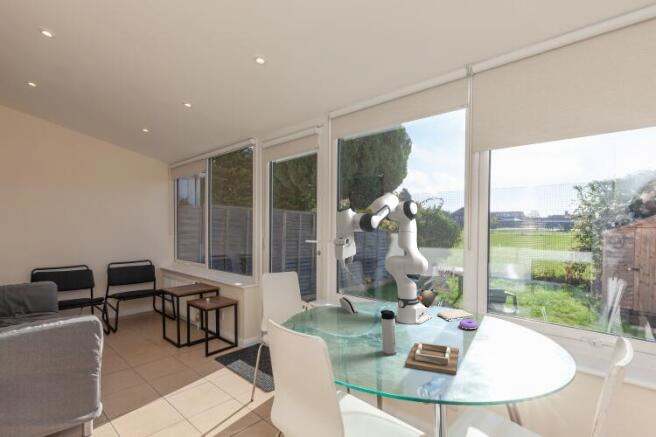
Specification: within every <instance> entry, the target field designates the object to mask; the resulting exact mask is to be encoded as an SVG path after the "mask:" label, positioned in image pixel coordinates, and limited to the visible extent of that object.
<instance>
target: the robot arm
mask: <svg viewBox="0 0 656 437" xmlns="http://www.w3.org/2000/svg"><path fill="white" fill-rule="evenodd" d="M370 209H371V211H372V212H367V213H366V212H365V213H364V212H363V213H357V212H355V211H353V210H352V208H351V207H342V208H340V209H337V211H336V214H335V227H336V237H335V239H333V241H332V242H333V245H334V257H335V259H336V260H337V261H339V263H340V266H341V269H346V263H345V262H346V261H345V259H348V261H347V264H348V265H349V266H350V265H353V259H354V256H355V255H356V254H357V247H356V242H355V232H359V233H360V232H361V233H363V232H364V233H373V232H375V231H376V230H377V229H378V227H379V225H380V224H381V223H382V222H383V221H384V220H386V221H387V222H397V221H398V222H399V224H398V231H397V232H398V233H397V246H398V248H400V249H401V250H403V251H405V252H406V255H396V254H395V255H391V256H387V258H386V259H385V262H384V268H385V271H387V273H389V274H390V275H391V276H392V277H393V279H394V280H395V282H396V287H397V310H396V311H397V312H396V315H395V318H396V319H395V321H397V322H399V323H400V324H408V325H412V324H413V325H421V323H422V322H424V321H425V322H427V321H428V319H429V320H431V319H432V318H433V316H432V315H431V314H429V313H428V307H425V306H424V304H423V303H422V302H421V301H420V300H422V297H420V296H417V295H418V292H417V284H416V282H415V281H413V280H412V279H410V278H409V277H408V276H407V275H423V274H425V273H427V271H428V269H429V262H428V260H427V259H426V257H424V256H423V255H422V253H421V252H420V251H419V249H418V245H417V239H418V238H417V234H418V232H417V231H418V230H417V229H418V228H417V221H416V218H417V214H418V211H419V210H418V209H419V208H418V205H417V203H416V202H415V201H414V200H405V201H399V198H398V197H397V195H395V194H393V193H388V194H384V195H382V196H380V197H378V198H376V199H375V200H373V202H372V203H371V208H370ZM431 317H432V318H431ZM430 318H431V319H430ZM426 320H427V321H426ZM425 322H424V323H425ZM422 324H423V323H422Z"/></svg>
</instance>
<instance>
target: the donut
mask: <svg viewBox="0 0 656 437" xmlns="http://www.w3.org/2000/svg"><path fill="white" fill-rule="evenodd" d="M460 326H461V327H463V328H467V329H470V328H475V327H477V326H478V327H479V324H478V322H477V321H476V320H473V319H463V320H459V327H460ZM461 327H460V328H461ZM463 328H462V329H463Z"/></svg>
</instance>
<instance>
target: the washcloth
mask: <svg viewBox="0 0 656 437" xmlns="http://www.w3.org/2000/svg"><path fill="white" fill-rule="evenodd" d="M438 315H439V316H442V317H444V318H445V319H448V320H451V319H457V318H463V317H469V316H473V317H474V314H473V313H470V312H467V311H465V310H463V309H451V310H443V311H439V312H437V316H438ZM439 316H438V317H439ZM445 319H444V320H445Z"/></svg>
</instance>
